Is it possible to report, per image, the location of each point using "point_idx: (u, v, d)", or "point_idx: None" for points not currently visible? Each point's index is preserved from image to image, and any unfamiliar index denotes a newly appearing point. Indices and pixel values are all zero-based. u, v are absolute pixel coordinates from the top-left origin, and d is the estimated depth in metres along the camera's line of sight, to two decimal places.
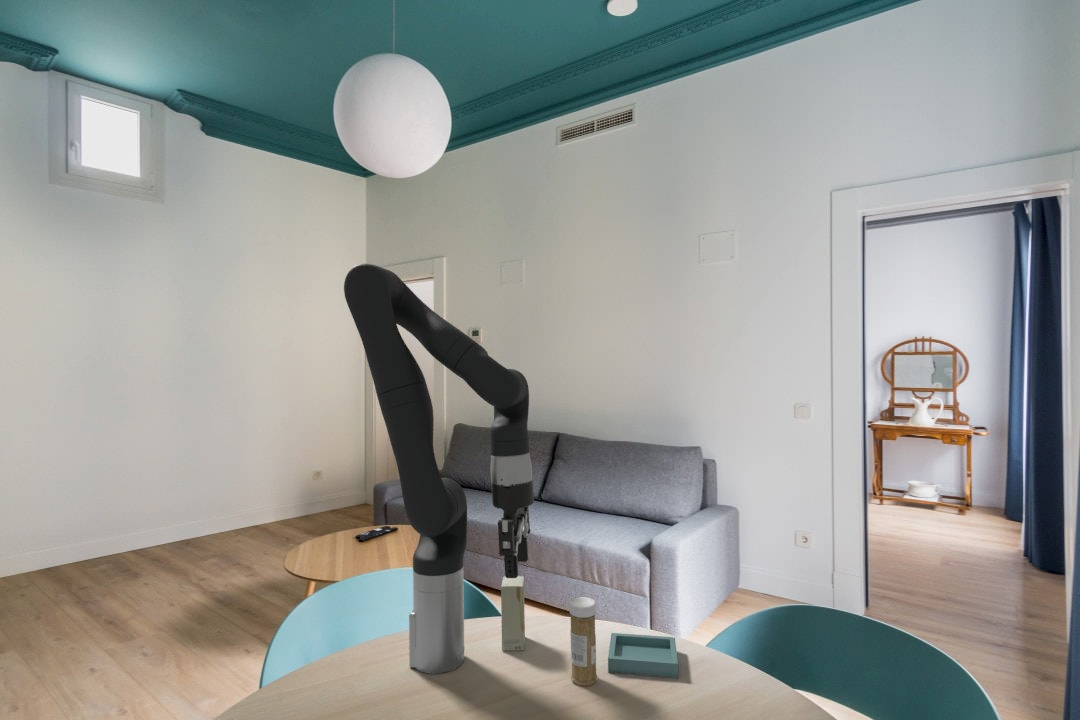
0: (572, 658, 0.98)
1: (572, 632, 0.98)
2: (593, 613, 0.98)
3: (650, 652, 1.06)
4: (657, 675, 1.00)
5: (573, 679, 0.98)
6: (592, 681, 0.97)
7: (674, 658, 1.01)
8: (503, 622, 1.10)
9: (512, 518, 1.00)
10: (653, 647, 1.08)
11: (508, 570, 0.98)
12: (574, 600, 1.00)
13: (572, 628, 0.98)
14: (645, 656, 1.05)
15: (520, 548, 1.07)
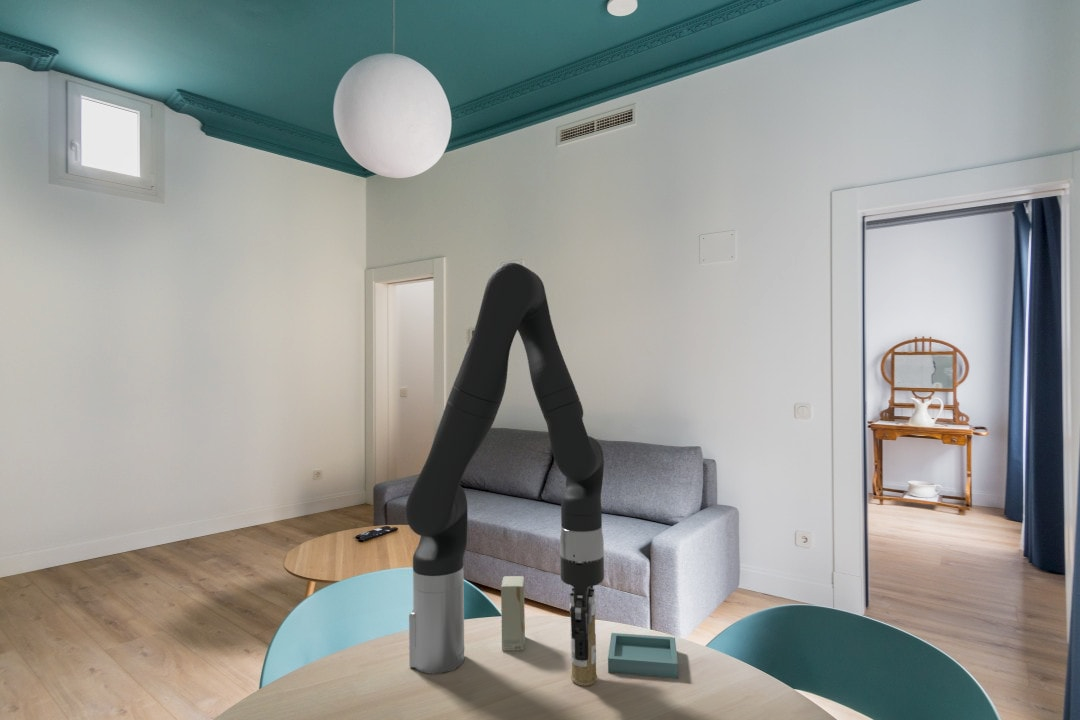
0: (572, 658, 0.98)
1: None
2: (593, 613, 0.98)
3: (650, 652, 1.06)
4: (657, 675, 1.00)
5: (573, 679, 0.98)
6: (592, 681, 0.97)
7: (674, 658, 1.01)
8: (503, 622, 1.10)
9: (583, 599, 0.95)
10: (653, 647, 1.08)
11: (579, 652, 0.96)
12: None
13: None
14: (645, 656, 1.05)
15: None
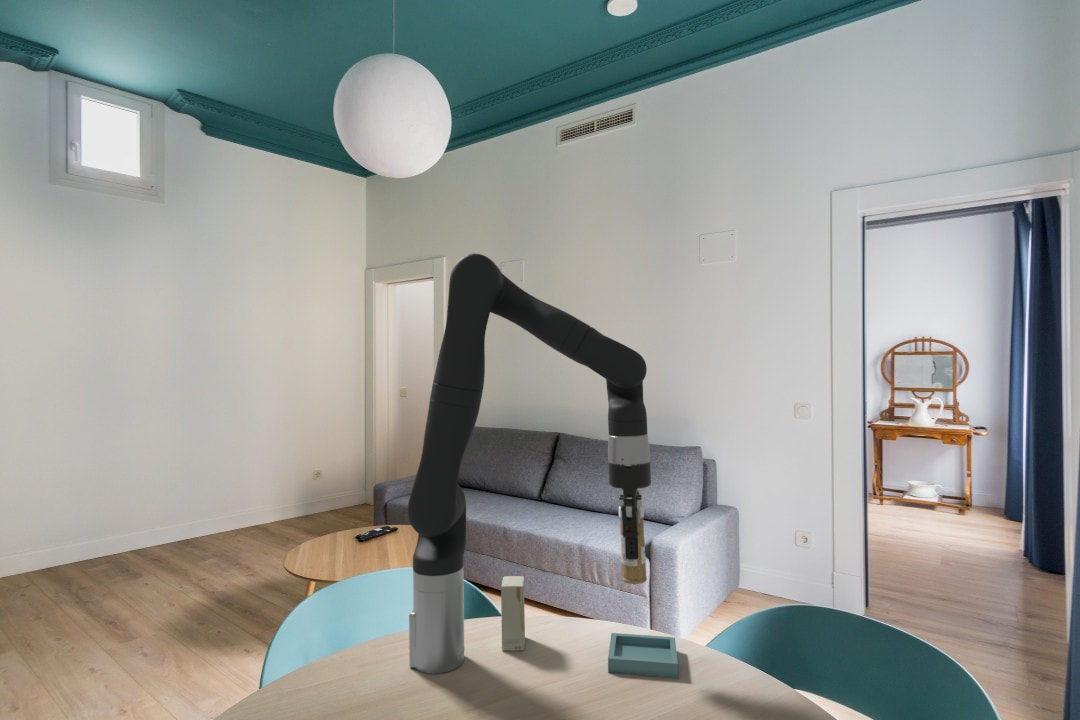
0: (623, 559, 1.03)
1: (622, 534, 1.03)
2: (642, 515, 1.02)
3: (650, 652, 1.06)
4: (657, 675, 1.00)
5: (624, 579, 1.03)
6: (642, 580, 1.02)
7: (674, 658, 1.01)
8: (503, 622, 1.10)
9: (633, 500, 1.00)
10: (653, 647, 1.08)
11: (629, 551, 1.01)
12: None
13: (622, 530, 1.03)
14: (645, 656, 1.05)
15: None
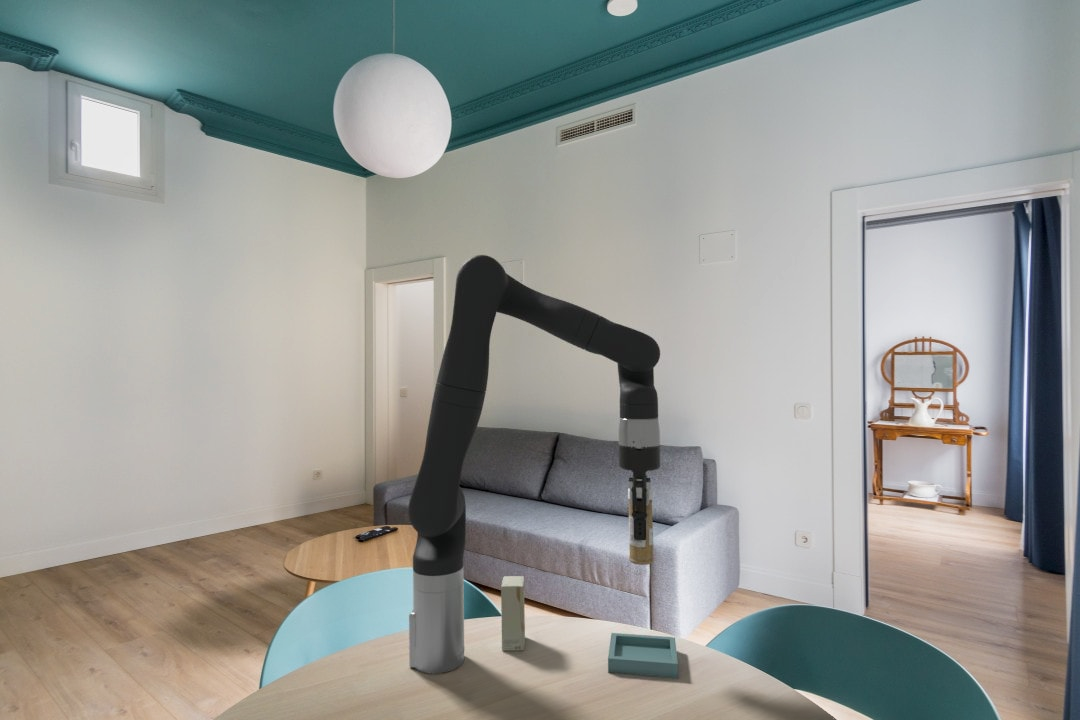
0: (631, 540, 1.05)
1: (631, 516, 1.05)
2: (651, 498, 1.04)
3: (650, 652, 1.06)
4: (657, 675, 1.00)
5: (632, 560, 1.04)
6: (650, 561, 1.04)
7: (674, 658, 1.01)
8: (503, 622, 1.10)
9: (643, 482, 1.02)
10: (653, 647, 1.08)
11: (638, 532, 1.02)
12: None
13: (631, 512, 1.05)
14: (645, 656, 1.05)
15: None
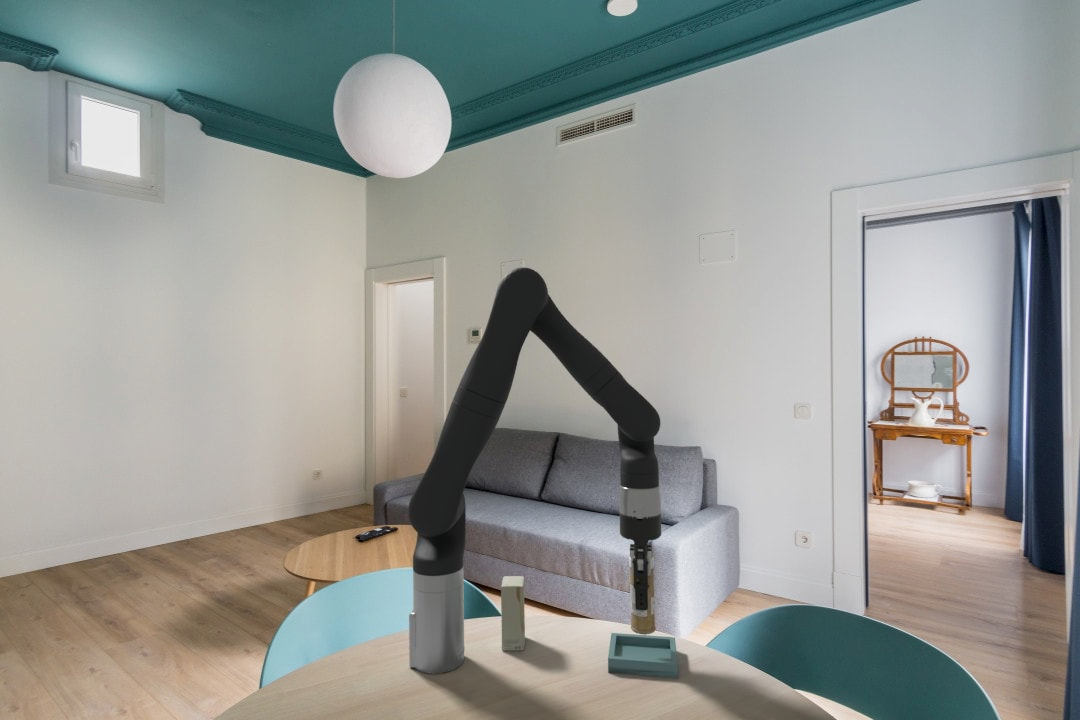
0: (632, 609, 1.04)
1: (632, 584, 1.04)
2: (652, 566, 1.04)
3: (650, 652, 1.06)
4: (657, 675, 1.00)
5: (633, 629, 1.04)
6: (652, 630, 1.03)
7: (674, 658, 1.01)
8: (503, 622, 1.10)
9: (644, 552, 1.01)
10: (653, 647, 1.08)
11: (639, 602, 1.02)
12: None
13: (632, 581, 1.04)
14: (645, 656, 1.05)
15: None
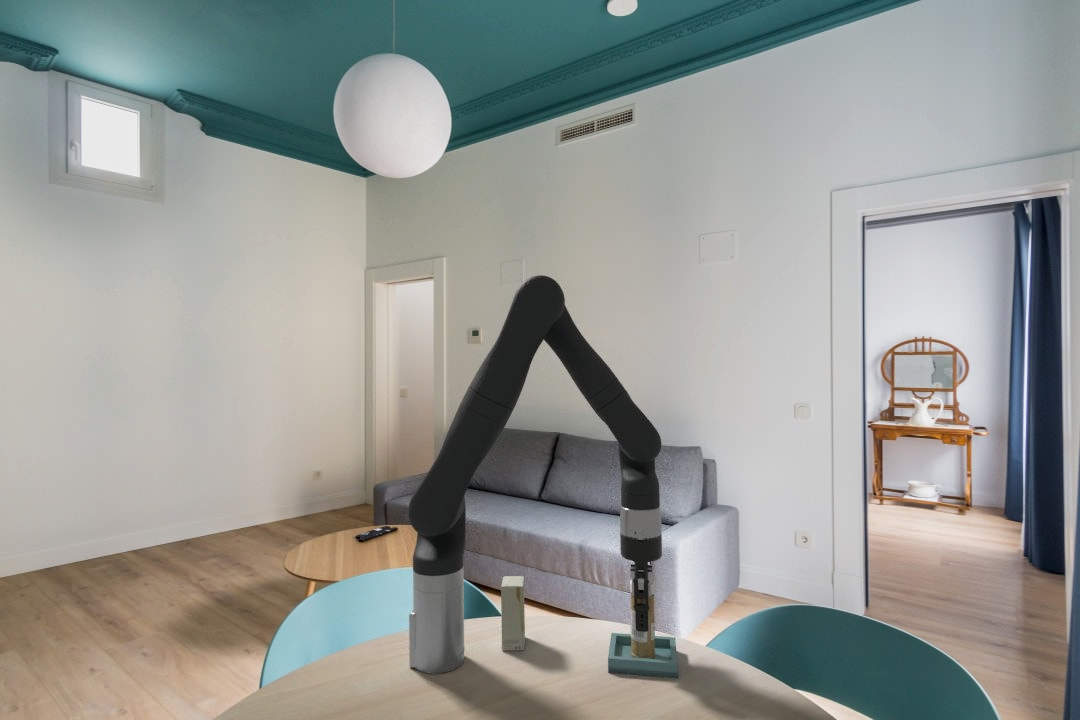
0: (632, 634, 1.04)
1: (633, 610, 1.04)
2: (653, 592, 1.04)
3: None
4: (657, 675, 1.00)
5: (633, 654, 1.04)
6: (651, 656, 1.03)
7: (674, 658, 1.01)
8: (503, 622, 1.10)
9: (645, 573, 1.01)
10: None
11: (640, 624, 1.01)
12: None
13: (633, 606, 1.04)
14: None
15: None
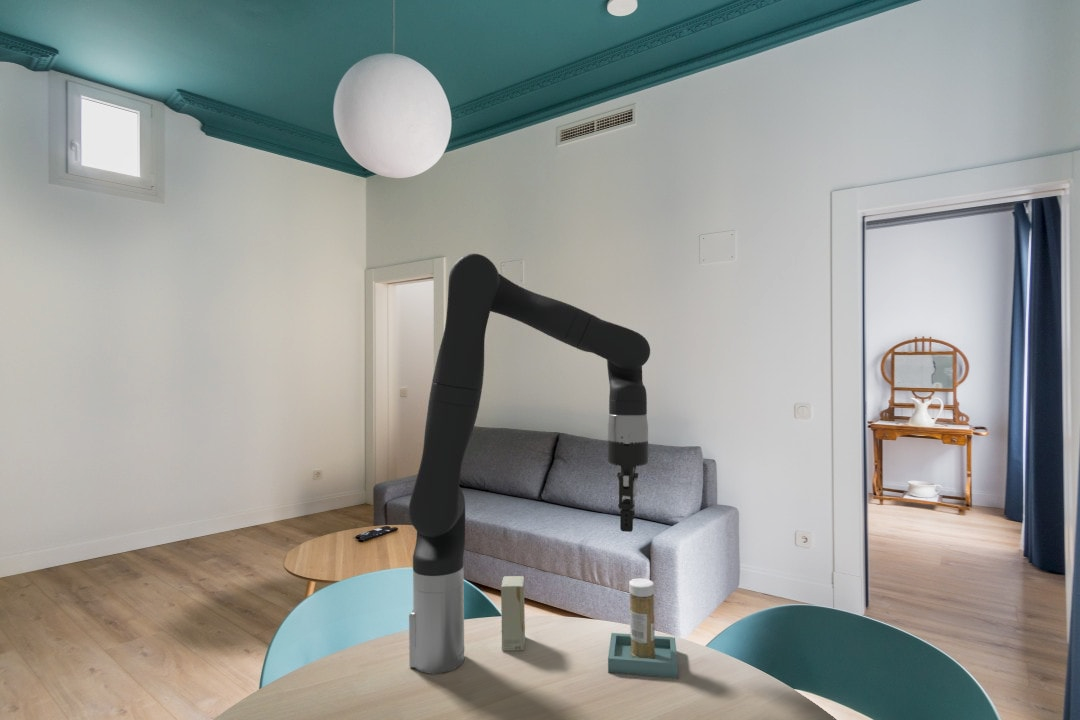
0: (632, 635, 1.04)
1: (632, 611, 1.04)
2: (652, 593, 1.04)
3: None
4: (657, 675, 1.00)
5: (633, 655, 1.04)
6: (651, 656, 1.03)
7: (674, 658, 1.01)
8: (503, 622, 1.10)
9: (630, 474, 1.04)
10: None
11: (624, 523, 1.03)
12: (633, 581, 1.06)
13: (632, 607, 1.04)
14: None
15: None
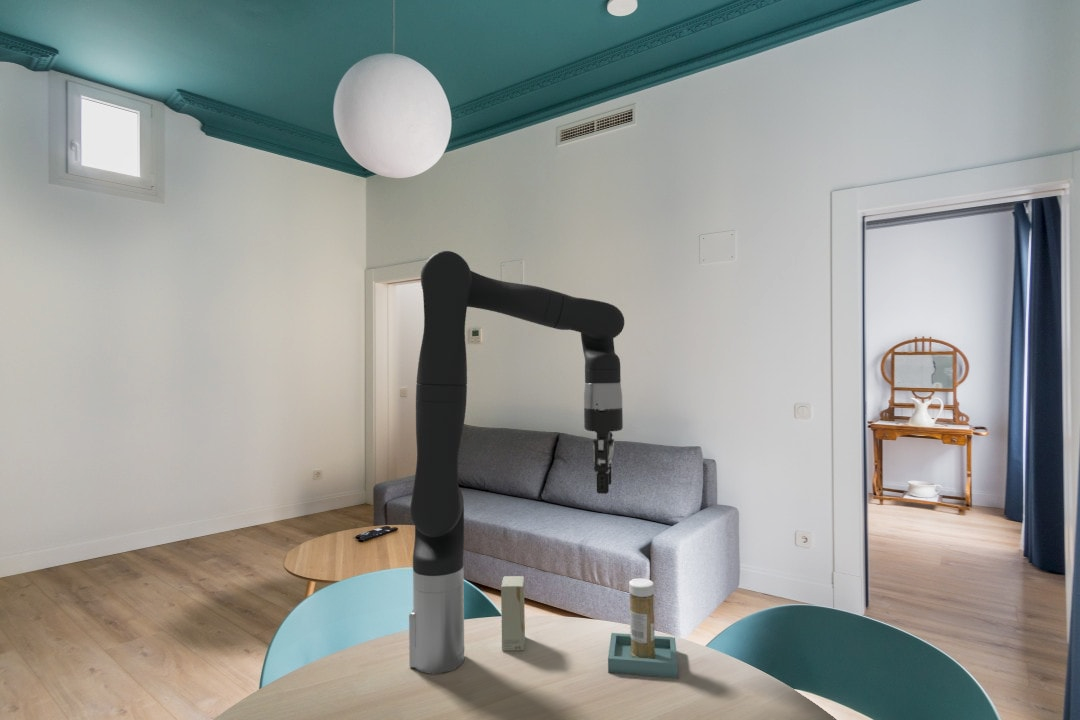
0: (632, 635, 1.04)
1: (632, 611, 1.04)
2: (652, 593, 1.04)
3: None
4: (657, 675, 1.00)
5: (633, 655, 1.04)
6: (651, 656, 1.03)
7: (674, 658, 1.01)
8: (503, 622, 1.10)
9: (605, 439, 1.09)
10: None
11: (600, 486, 1.08)
12: (633, 581, 1.06)
13: (632, 607, 1.04)
14: None
15: None
